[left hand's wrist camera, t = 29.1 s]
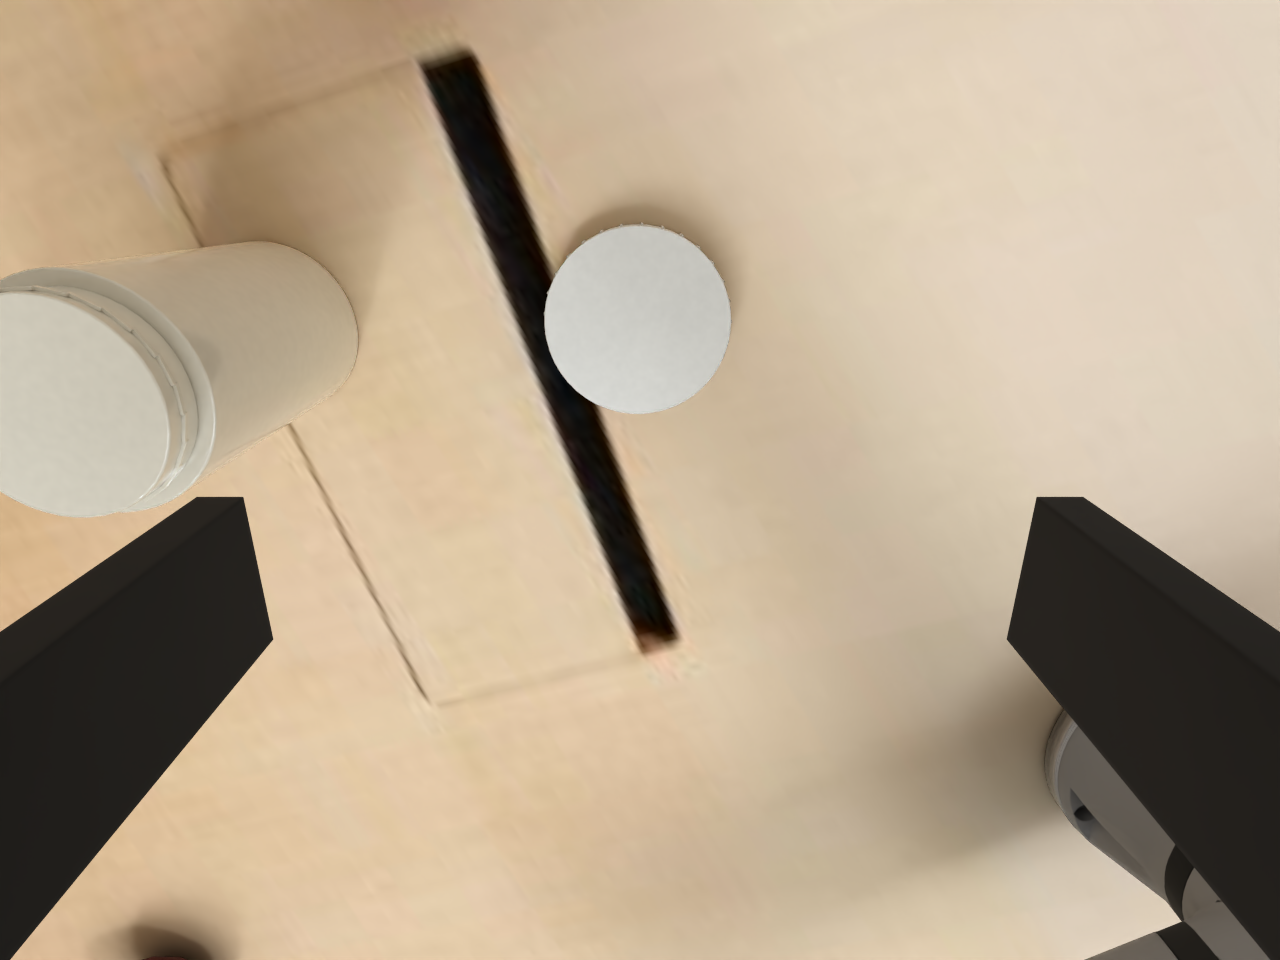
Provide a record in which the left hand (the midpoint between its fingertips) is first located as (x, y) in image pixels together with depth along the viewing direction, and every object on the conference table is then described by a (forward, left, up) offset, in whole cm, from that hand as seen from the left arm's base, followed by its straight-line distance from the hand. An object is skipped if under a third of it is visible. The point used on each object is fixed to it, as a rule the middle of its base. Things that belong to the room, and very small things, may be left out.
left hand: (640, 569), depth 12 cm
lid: (0, 0, -24) cm, 24 cm away
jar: (+17, +6, -26) cm, 31 cm away
